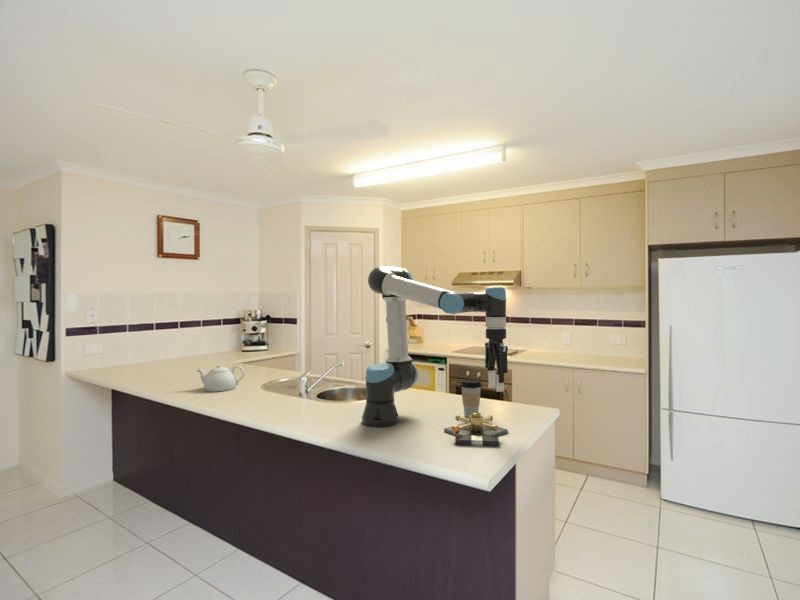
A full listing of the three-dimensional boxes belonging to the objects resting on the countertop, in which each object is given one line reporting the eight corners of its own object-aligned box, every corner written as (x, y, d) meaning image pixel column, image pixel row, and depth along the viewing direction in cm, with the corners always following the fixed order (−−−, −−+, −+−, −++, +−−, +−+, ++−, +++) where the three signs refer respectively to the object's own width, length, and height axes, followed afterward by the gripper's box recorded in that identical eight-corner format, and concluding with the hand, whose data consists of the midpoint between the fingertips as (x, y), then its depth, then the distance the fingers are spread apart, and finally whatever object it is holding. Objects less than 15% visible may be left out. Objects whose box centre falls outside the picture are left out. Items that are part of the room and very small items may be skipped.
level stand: (477, 453, 148) (477, 447, 148) (430, 435, 167) (430, 429, 167) (524, 438, 163) (524, 432, 163) (476, 422, 182) (476, 418, 182)
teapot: (216, 394, 237) (215, 368, 236) (196, 390, 247) (195, 365, 246) (245, 387, 252) (245, 363, 252) (225, 384, 262) (225, 361, 262)
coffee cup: (467, 419, 187) (467, 384, 186) (456, 414, 195) (455, 380, 195) (486, 417, 190) (486, 382, 190) (474, 411, 199) (474, 378, 199)
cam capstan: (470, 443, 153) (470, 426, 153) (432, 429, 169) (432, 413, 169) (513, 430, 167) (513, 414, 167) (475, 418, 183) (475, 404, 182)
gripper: (517, 329, 160) (517, 394, 160) (493, 325, 178) (493, 383, 178) (498, 330, 157) (499, 395, 158) (475, 326, 175) (476, 385, 176)
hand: (496, 389), depth 168 cm, fingers open, 6 cm apart
